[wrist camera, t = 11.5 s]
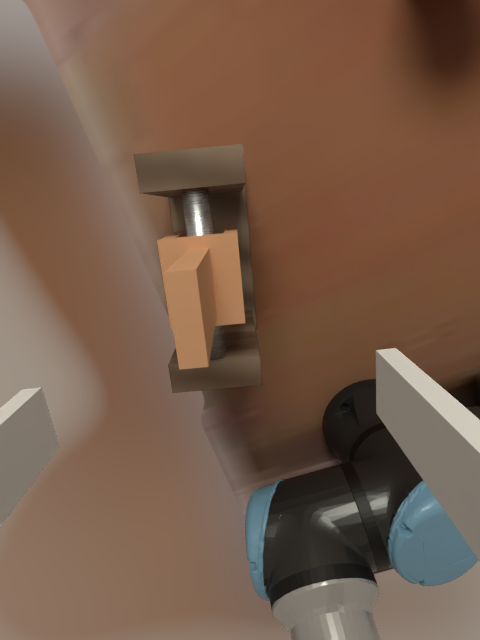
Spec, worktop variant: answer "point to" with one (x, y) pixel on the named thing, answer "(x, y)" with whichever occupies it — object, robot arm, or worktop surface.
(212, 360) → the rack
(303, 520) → the robot arm
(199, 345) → the tan joined planks
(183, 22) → the worktop surface
